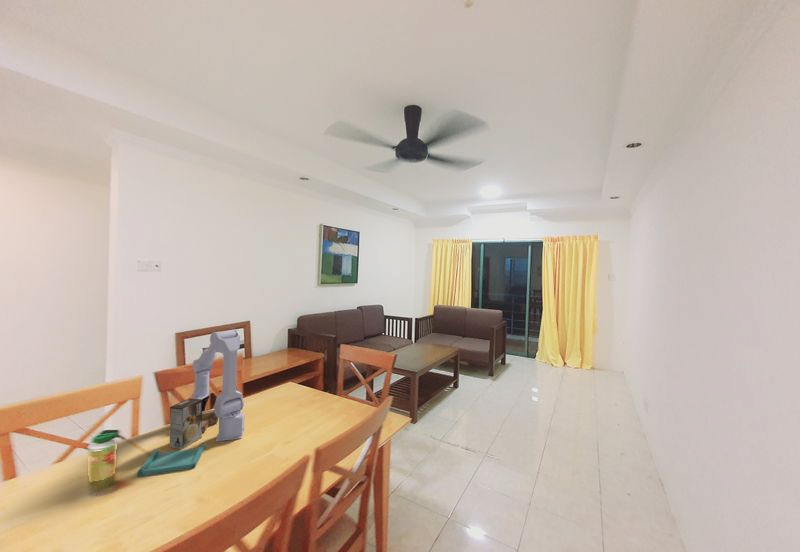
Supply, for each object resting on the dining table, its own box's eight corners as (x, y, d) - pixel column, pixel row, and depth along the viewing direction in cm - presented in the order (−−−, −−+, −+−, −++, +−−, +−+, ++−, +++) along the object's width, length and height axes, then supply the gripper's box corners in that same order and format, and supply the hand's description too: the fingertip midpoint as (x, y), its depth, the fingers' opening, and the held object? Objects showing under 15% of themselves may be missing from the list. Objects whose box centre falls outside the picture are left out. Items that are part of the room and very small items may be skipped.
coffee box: (189, 435, 128) (190, 397, 128) (202, 437, 127) (203, 399, 127) (168, 447, 119) (169, 406, 119) (182, 449, 118) (183, 408, 118)
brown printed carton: (218, 420, 141) (218, 409, 141) (212, 431, 132) (213, 419, 132) (177, 424, 136) (177, 413, 136) (168, 436, 126) (168, 424, 126)
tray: (205, 448, 120) (205, 443, 120) (194, 468, 107) (194, 463, 107) (154, 454, 115) (154, 450, 114) (137, 477, 102) (137, 472, 102)
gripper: (196, 380, 148) (196, 407, 148) (186, 391, 134) (185, 421, 134) (213, 378, 150) (212, 406, 150) (205, 389, 137) (204, 419, 137)
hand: (201, 413), depth 142 cm, fingers closed
